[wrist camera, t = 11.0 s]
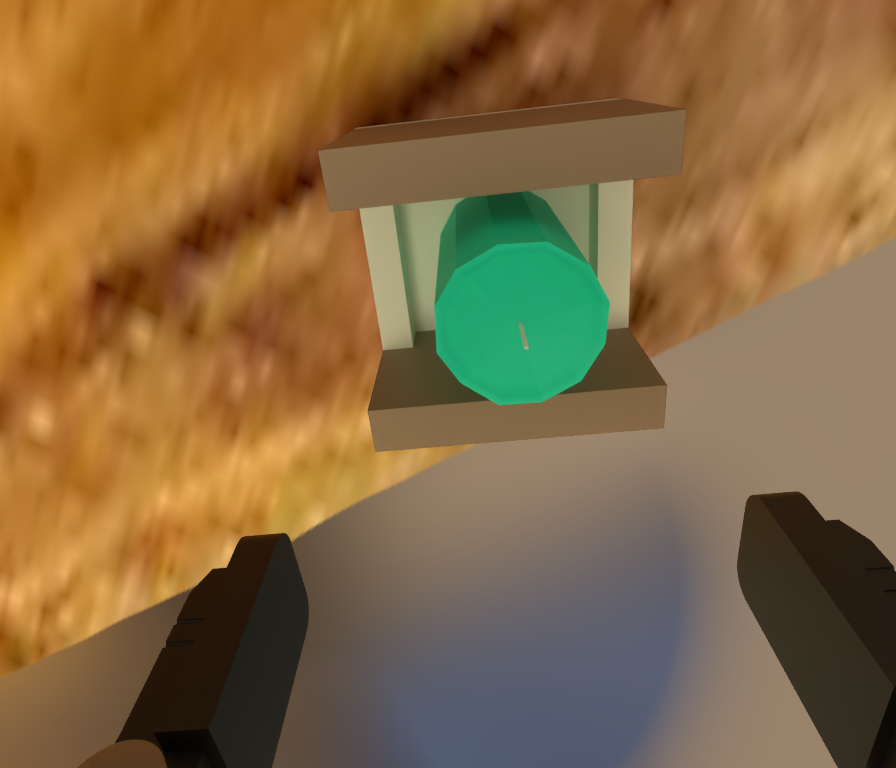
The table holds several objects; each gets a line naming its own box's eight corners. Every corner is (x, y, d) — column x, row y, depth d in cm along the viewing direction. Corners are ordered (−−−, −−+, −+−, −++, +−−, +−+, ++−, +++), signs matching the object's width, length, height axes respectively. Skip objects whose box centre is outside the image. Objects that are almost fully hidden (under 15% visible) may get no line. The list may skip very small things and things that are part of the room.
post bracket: (356, 127, 28) (317, 150, 20) (618, 97, 27) (686, 109, 19) (394, 360, 33) (375, 451, 26) (612, 340, 33) (664, 428, 25)
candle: (500, 154, 28) (528, 209, 17) (588, 243, 29) (664, 342, 19) (413, 250, 30) (391, 352, 19) (501, 327, 31) (524, 460, 21)
